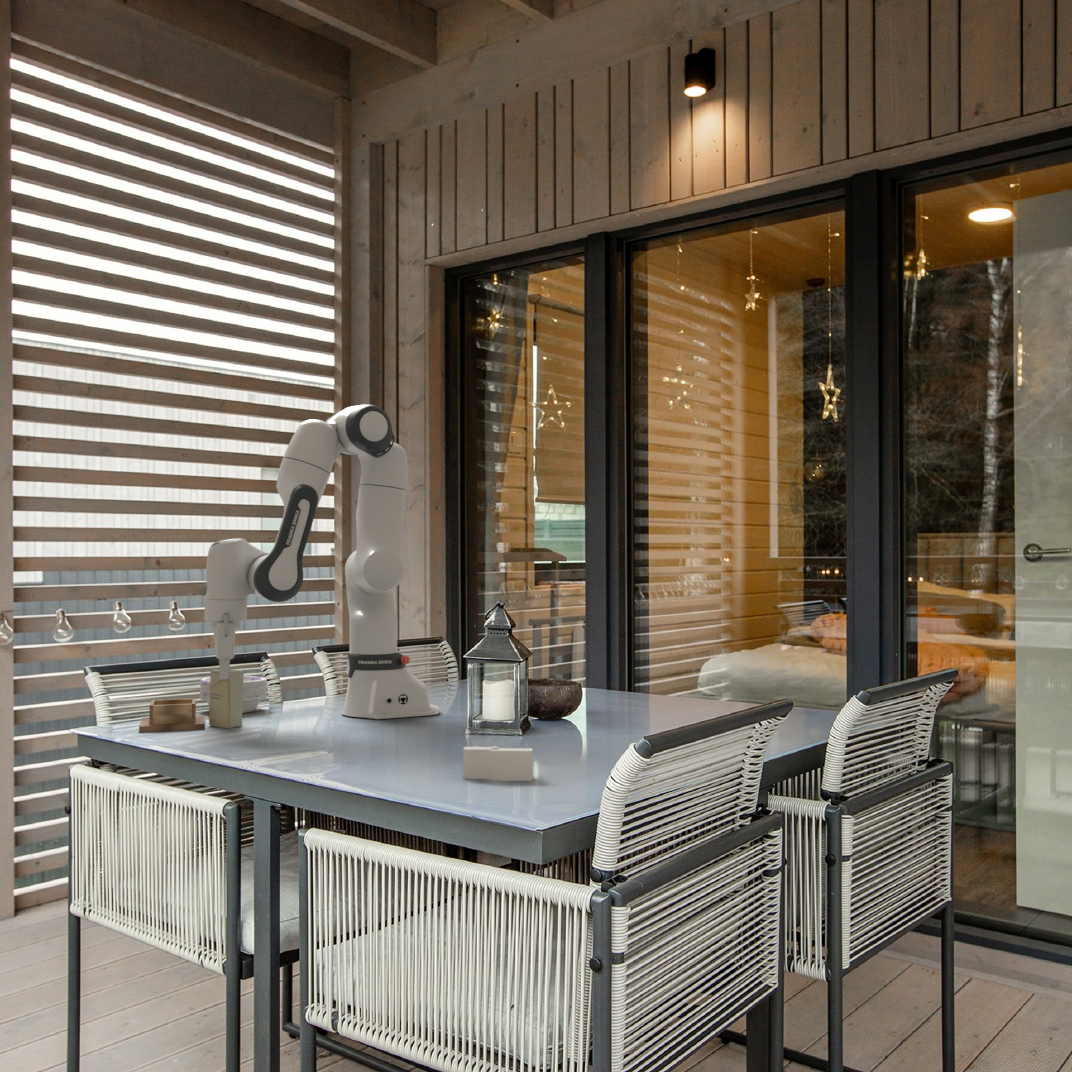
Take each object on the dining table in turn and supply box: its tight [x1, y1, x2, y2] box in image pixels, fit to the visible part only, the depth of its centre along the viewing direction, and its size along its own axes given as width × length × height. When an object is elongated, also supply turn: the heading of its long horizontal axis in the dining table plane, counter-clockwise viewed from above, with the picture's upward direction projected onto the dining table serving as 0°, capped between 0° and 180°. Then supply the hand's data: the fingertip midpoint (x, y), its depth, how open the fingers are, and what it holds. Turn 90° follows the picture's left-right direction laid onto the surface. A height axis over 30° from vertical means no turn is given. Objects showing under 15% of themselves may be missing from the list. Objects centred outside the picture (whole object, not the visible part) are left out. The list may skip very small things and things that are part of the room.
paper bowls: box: [199, 675, 268, 714], centre depth 251 cm, size 15×15×8 cm
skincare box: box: [208, 668, 245, 729], centre depth 229 cm, size 6×4×12 cm
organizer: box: [138, 698, 206, 733], centre depth 228 cm, size 13×13×5 cm
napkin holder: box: [462, 745, 534, 782], centre depth 176 cm, size 15×11×6 cm
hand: (223, 676), depth 229 cm, fingers open, 8 cm apart
